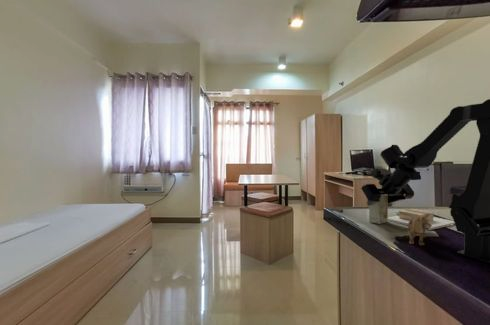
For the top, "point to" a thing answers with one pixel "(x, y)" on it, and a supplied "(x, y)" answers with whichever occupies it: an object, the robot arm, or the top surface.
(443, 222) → the build plate
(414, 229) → the lion figurine
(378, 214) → the skincare box
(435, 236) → the top surface
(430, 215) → the oak pedestal
